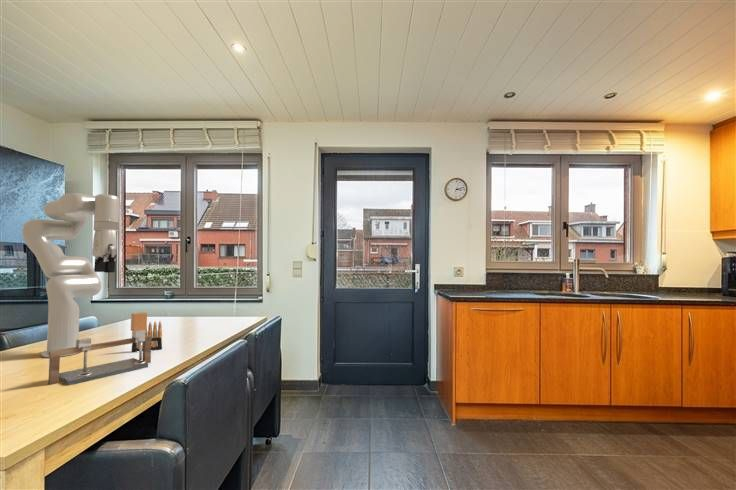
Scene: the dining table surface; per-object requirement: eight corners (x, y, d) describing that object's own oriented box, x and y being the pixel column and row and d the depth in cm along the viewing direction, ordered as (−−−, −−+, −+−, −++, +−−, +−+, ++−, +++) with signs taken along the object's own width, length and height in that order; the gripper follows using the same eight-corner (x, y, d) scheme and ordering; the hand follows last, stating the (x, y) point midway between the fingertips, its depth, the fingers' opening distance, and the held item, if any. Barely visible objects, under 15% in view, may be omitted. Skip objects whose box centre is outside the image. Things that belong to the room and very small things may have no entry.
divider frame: (46, 383, 105) (48, 343, 106) (148, 361, 128) (149, 328, 129) (51, 386, 103) (53, 345, 103) (153, 363, 126) (155, 330, 126)
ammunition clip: (131, 352, 141) (132, 323, 141) (132, 351, 142) (133, 322, 143) (161, 349, 145) (162, 321, 146) (162, 348, 147) (162, 320, 148)
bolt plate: (56, 377, 110) (56, 373, 110) (135, 360, 129) (135, 357, 129) (68, 385, 103) (68, 380, 104) (150, 366, 122) (150, 362, 122)
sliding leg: (129, 359, 124) (131, 313, 124) (141, 357, 127) (143, 312, 128) (135, 361, 121) (136, 314, 122) (147, 359, 124) (149, 313, 125)
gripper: (85, 227, 133) (84, 271, 132) (103, 225, 123) (101, 272, 122) (109, 229, 139) (107, 271, 138) (127, 226, 129) (125, 272, 128)
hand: (104, 272), depth 130 cm, fingers open, 9 cm apart
